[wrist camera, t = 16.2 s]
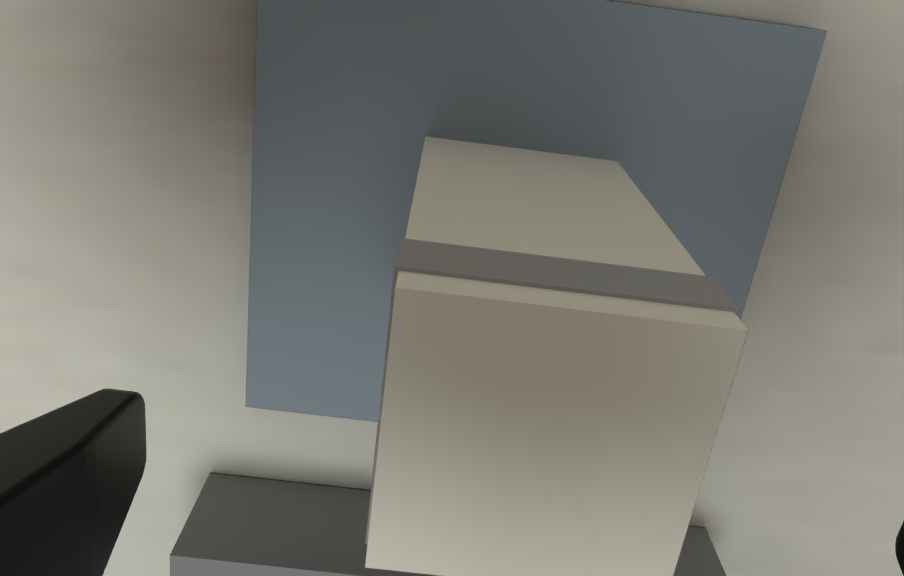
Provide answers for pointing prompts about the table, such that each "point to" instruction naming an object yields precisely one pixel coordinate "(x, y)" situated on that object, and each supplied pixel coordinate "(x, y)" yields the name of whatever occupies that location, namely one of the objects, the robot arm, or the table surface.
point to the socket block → (313, 533)
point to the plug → (543, 373)
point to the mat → (495, 123)
